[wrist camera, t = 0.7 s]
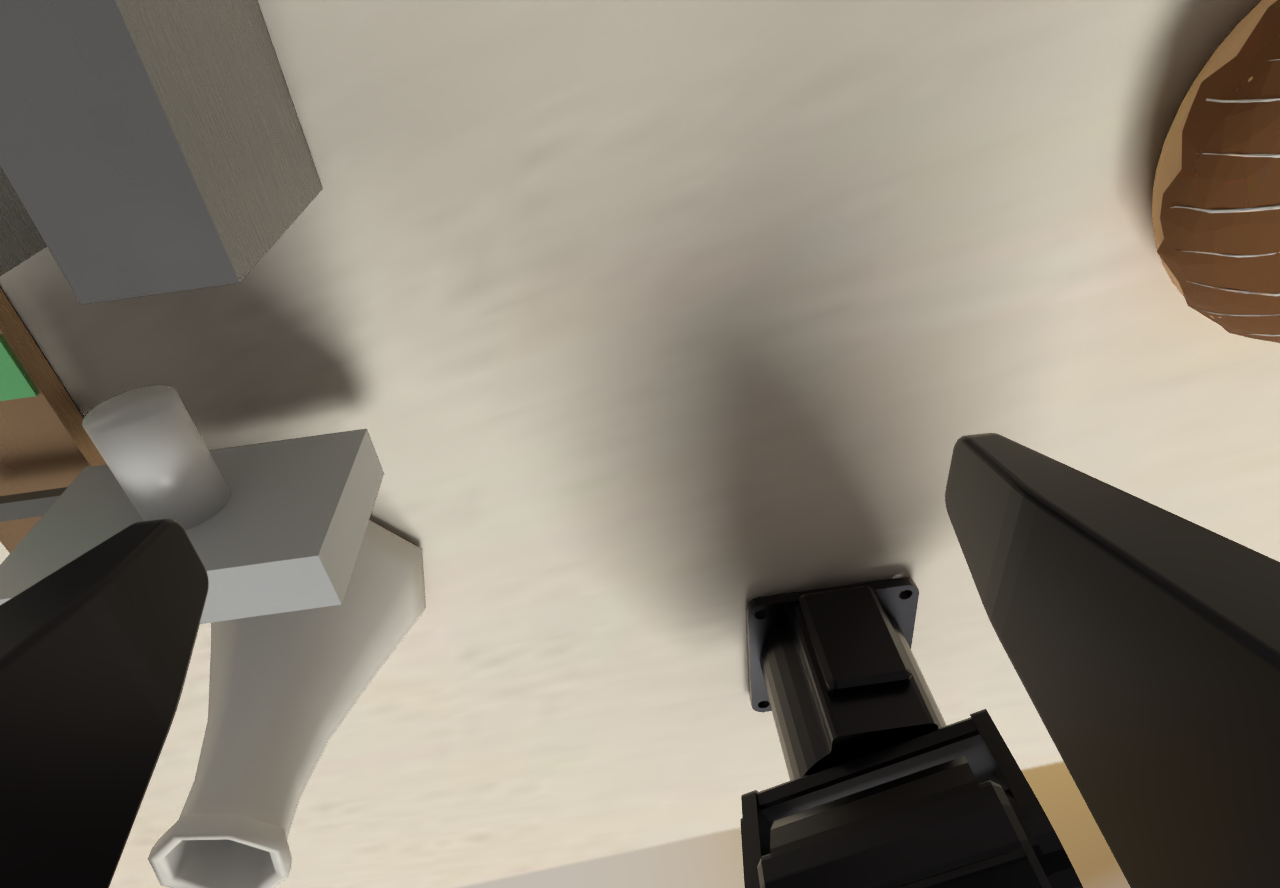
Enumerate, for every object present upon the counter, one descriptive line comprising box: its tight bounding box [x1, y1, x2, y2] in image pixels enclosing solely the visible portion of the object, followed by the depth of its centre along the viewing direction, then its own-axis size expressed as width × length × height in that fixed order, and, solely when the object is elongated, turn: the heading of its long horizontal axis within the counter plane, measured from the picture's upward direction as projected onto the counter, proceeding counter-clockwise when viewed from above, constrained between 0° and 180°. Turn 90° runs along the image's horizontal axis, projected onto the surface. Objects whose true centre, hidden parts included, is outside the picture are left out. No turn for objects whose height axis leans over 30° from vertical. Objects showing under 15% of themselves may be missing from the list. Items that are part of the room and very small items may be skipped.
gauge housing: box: [0, 0, 322, 553], centre depth 18 cm, size 14×13×6 cm
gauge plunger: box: [0, 385, 384, 624], centre depth 19 cm, size 5×12×5 cm, turn 96°
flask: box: [148, 520, 426, 888], centre depth 23 cm, size 7×7×10 cm
